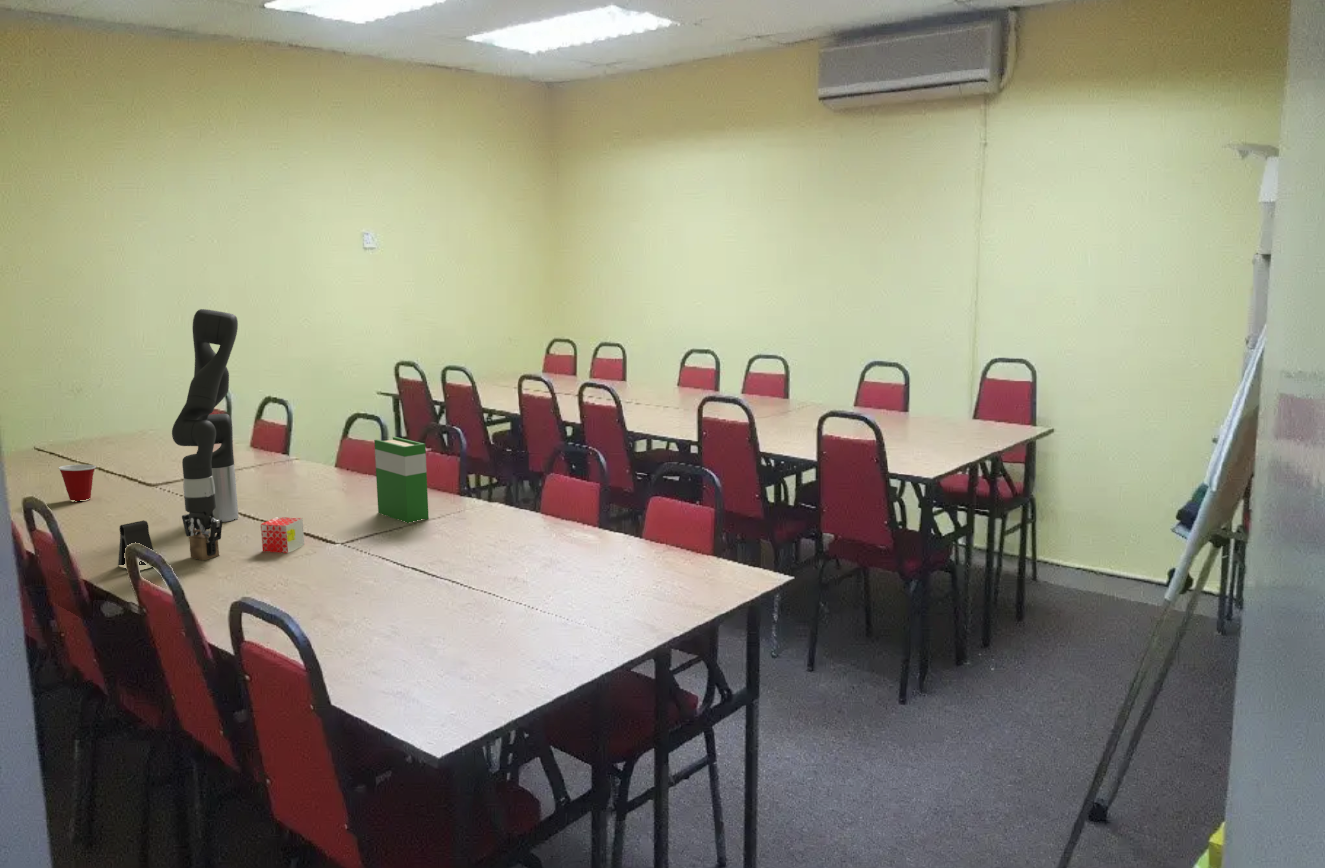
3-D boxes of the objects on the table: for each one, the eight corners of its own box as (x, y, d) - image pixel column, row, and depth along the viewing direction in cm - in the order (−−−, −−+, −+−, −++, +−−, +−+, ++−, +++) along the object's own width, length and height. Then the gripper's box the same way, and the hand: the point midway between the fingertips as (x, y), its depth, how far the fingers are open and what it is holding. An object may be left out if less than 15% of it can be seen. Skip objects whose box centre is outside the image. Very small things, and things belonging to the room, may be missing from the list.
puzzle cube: (288, 553, 261) (286, 525, 259) (262, 551, 262) (260, 524, 261) (304, 545, 268) (302, 518, 267) (279, 543, 270) (277, 516, 268)
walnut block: (190, 557, 256) (188, 536, 255) (207, 553, 260) (205, 532, 259) (202, 560, 254) (200, 539, 252) (219, 555, 258) (217, 534, 257)
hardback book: (378, 513, 303) (374, 439, 298) (398, 508, 308) (395, 436, 304) (407, 523, 291) (404, 447, 286) (428, 518, 296) (425, 443, 292)
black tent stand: (157, 567, 248) (153, 523, 246) (133, 573, 243) (129, 528, 241) (141, 560, 254) (137, 517, 251) (118, 566, 249) (113, 522, 247)
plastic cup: (106, 499, 320) (102, 464, 318) (72, 505, 311) (68, 470, 309) (89, 495, 326) (85, 461, 324) (56, 501, 317) (52, 466, 315)
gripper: (169, 492, 254) (175, 553, 257) (204, 499, 247) (209, 561, 250) (194, 487, 260) (200, 546, 263) (229, 493, 254) (234, 553, 257)
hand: (204, 553), depth 257 cm, fingers closed on walnut block, 5 cm apart
